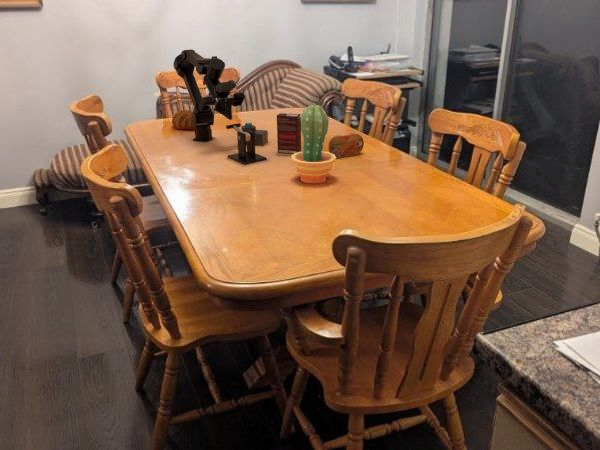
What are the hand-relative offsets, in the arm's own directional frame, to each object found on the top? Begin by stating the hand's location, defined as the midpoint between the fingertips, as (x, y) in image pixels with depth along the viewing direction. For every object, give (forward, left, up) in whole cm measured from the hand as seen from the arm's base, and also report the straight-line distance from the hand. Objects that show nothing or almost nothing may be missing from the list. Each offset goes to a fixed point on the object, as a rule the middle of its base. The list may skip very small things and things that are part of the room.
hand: (231, 119), depth 204 cm
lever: (+5, -3, -5) cm, 8 cm away
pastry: (-44, +30, -10) cm, 54 cm away
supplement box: (+21, +8, -14) cm, 26 cm away
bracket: (+9, -5, -14) cm, 17 cm away
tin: (+42, +15, -14) cm, 47 cm away
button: (-2, +17, -7) cm, 19 cm away
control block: (+1, +17, -14) cm, 22 cm away
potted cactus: (+41, -16, -14) cm, 46 cm away
